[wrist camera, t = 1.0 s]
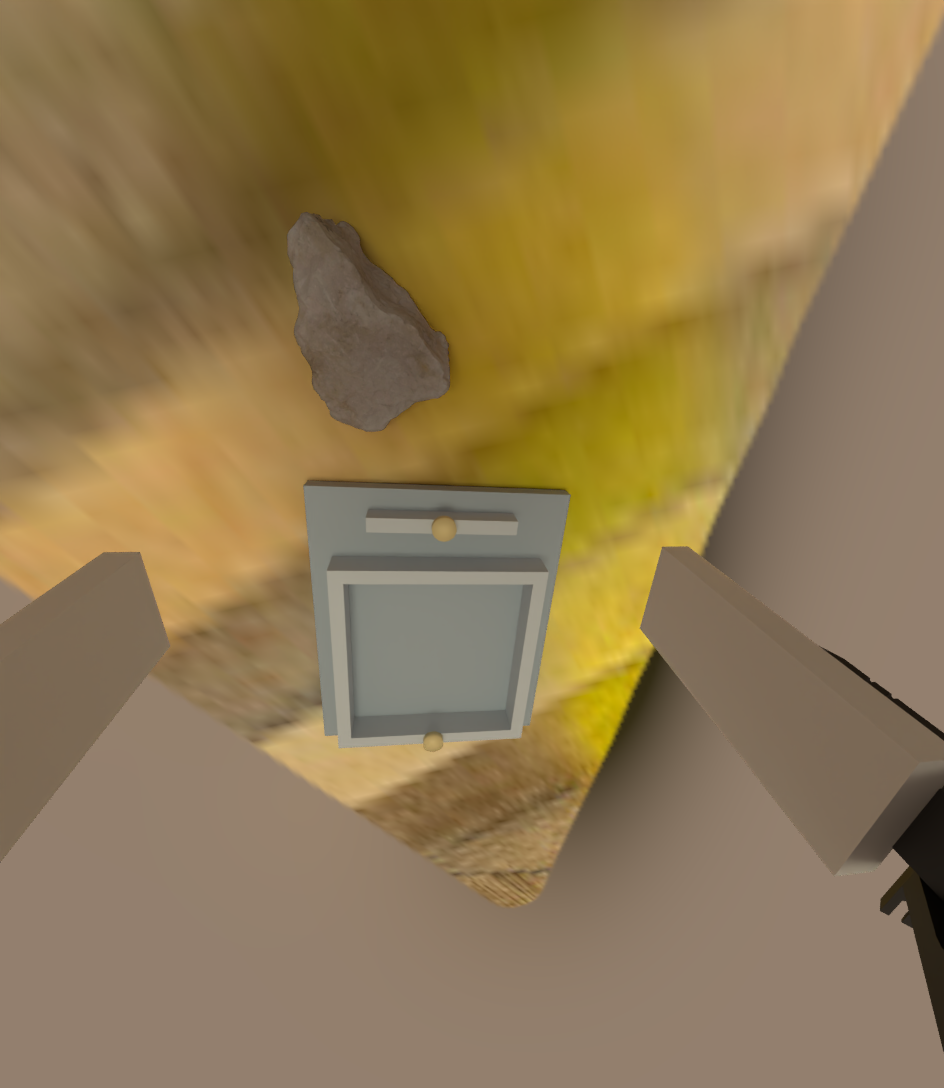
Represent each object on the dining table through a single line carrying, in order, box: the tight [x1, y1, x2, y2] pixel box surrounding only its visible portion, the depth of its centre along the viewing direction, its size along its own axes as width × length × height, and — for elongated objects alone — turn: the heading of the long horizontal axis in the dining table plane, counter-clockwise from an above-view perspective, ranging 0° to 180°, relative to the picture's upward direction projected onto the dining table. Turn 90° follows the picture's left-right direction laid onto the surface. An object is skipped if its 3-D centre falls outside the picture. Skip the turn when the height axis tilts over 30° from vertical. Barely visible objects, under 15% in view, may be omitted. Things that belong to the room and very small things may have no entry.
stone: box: [287, 212, 450, 432], centre depth 23 cm, size 8×10×6 cm
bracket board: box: [304, 481, 570, 752], centre depth 32 cm, size 22×18×4 cm
